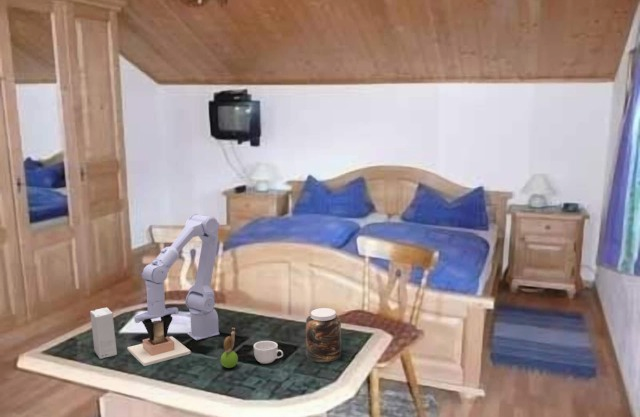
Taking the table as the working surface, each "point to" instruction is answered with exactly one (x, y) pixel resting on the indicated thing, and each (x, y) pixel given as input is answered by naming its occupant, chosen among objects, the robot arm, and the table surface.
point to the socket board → (158, 351)
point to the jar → (323, 335)
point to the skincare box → (103, 332)
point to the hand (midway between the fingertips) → (158, 338)
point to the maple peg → (158, 332)
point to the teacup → (266, 351)
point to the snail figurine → (229, 352)
